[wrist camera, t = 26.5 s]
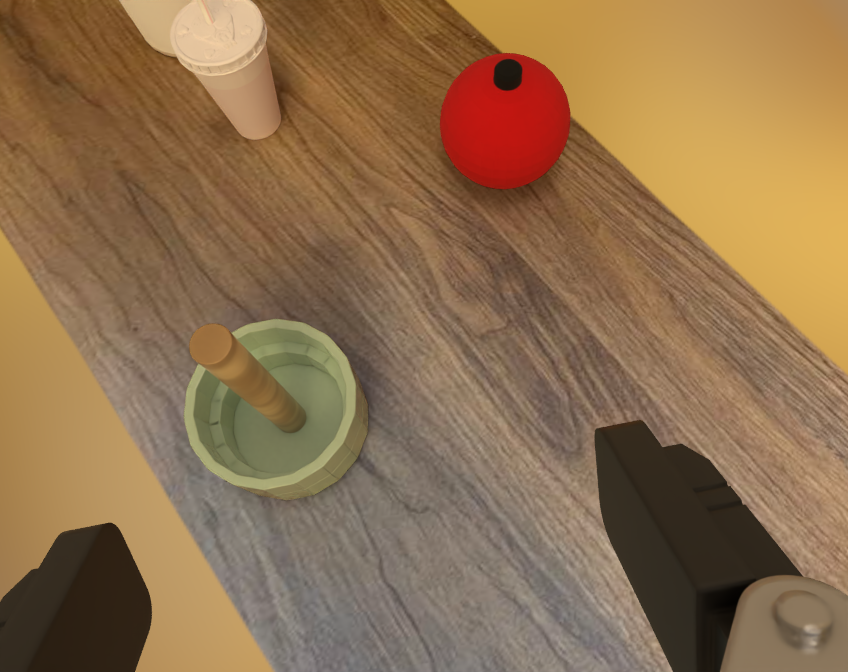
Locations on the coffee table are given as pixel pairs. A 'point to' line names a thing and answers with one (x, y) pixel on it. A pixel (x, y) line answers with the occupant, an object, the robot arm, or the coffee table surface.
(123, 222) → the coffee table surface
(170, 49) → the mug
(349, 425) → the bowl
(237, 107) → the smoothie
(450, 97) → the ornament
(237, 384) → the stick
